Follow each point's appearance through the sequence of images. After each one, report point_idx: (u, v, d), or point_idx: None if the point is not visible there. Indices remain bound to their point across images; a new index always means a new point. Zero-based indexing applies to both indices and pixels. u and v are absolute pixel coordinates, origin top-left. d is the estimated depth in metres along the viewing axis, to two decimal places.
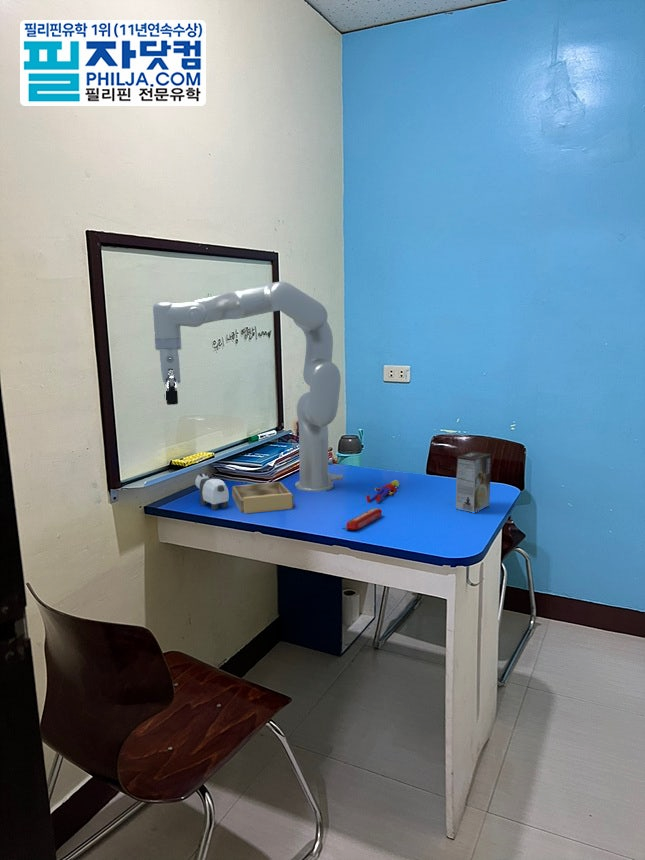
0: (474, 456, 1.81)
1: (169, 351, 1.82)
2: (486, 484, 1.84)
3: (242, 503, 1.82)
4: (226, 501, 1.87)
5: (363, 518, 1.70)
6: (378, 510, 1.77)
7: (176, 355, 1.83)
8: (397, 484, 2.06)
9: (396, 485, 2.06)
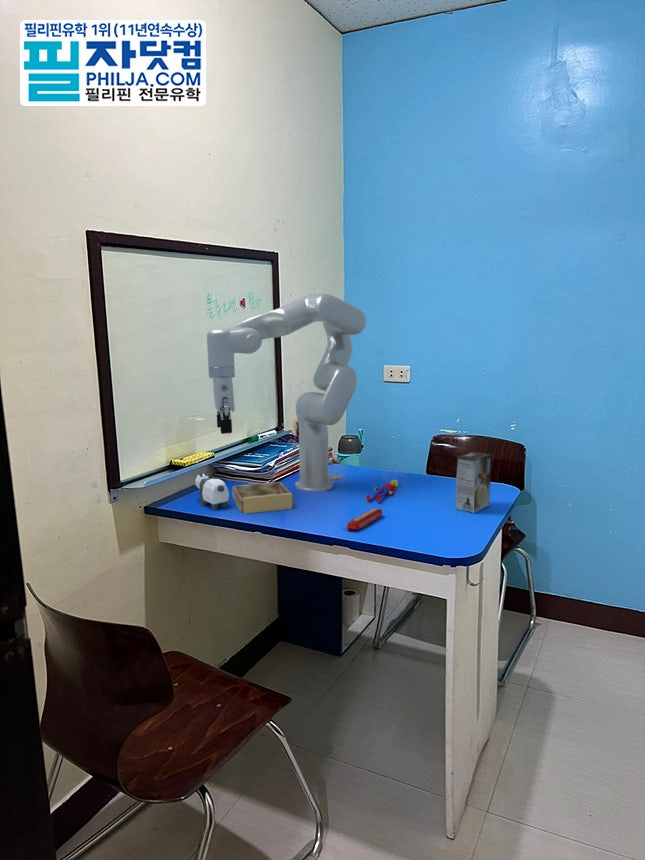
0: (474, 456, 1.81)
1: (223, 379, 1.79)
2: (486, 484, 1.84)
3: (242, 503, 1.82)
4: (226, 501, 1.87)
5: (364, 518, 1.70)
6: (378, 510, 1.77)
7: (230, 383, 1.80)
8: (396, 484, 2.06)
9: (395, 485, 2.06)
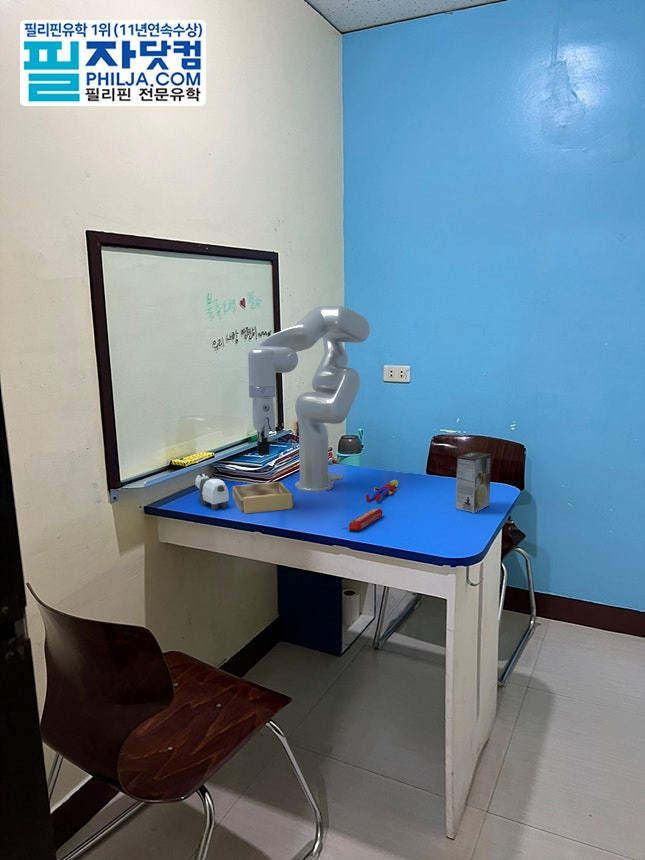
0: (474, 456, 1.81)
1: (265, 400, 1.77)
2: (486, 484, 1.84)
3: (242, 503, 1.82)
4: (226, 501, 1.87)
5: (365, 518, 1.70)
6: (379, 510, 1.77)
7: (272, 404, 1.78)
8: (396, 484, 2.06)
9: (395, 485, 2.06)
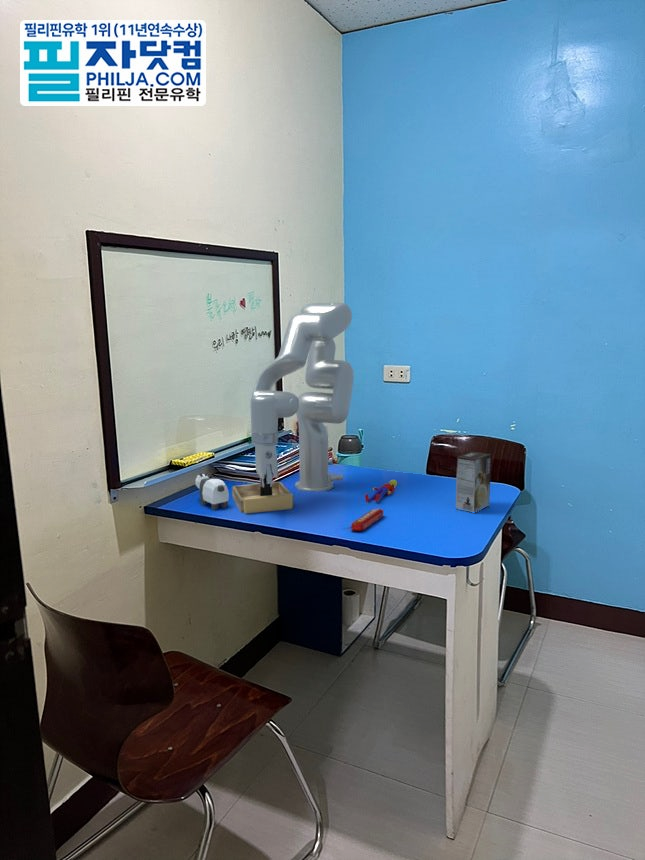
0: (474, 456, 1.81)
1: (268, 447, 1.77)
2: (487, 484, 1.84)
3: (242, 503, 1.82)
4: (226, 501, 1.87)
5: (367, 519, 1.70)
6: (380, 510, 1.77)
7: (274, 450, 1.77)
8: (395, 484, 2.07)
9: (394, 485, 2.06)
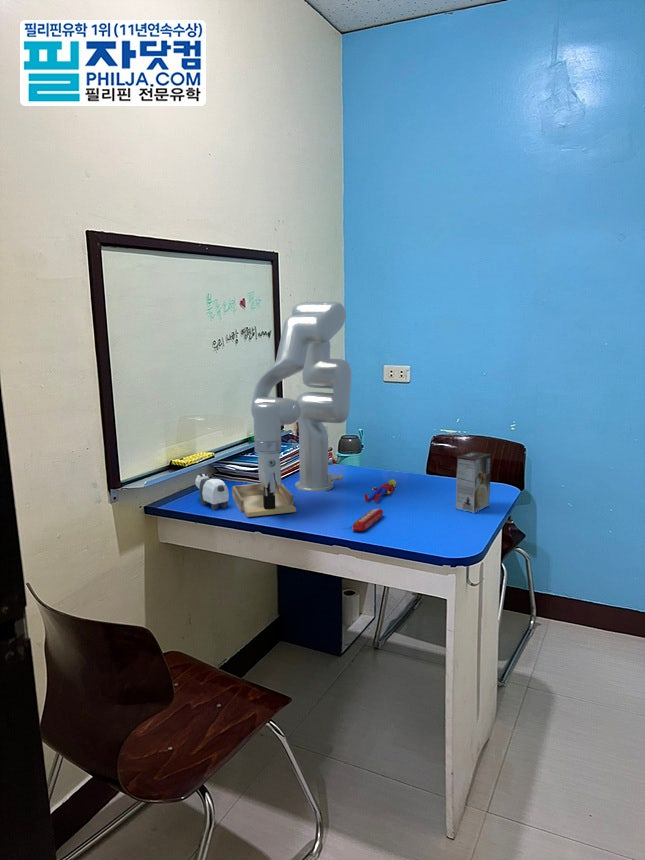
0: (474, 456, 1.81)
1: (271, 455, 1.74)
2: (486, 484, 1.84)
3: (242, 503, 1.82)
4: (226, 501, 1.87)
5: (368, 519, 1.70)
6: (380, 510, 1.77)
7: (278, 458, 1.74)
8: (394, 483, 2.07)
9: (393, 484, 2.06)
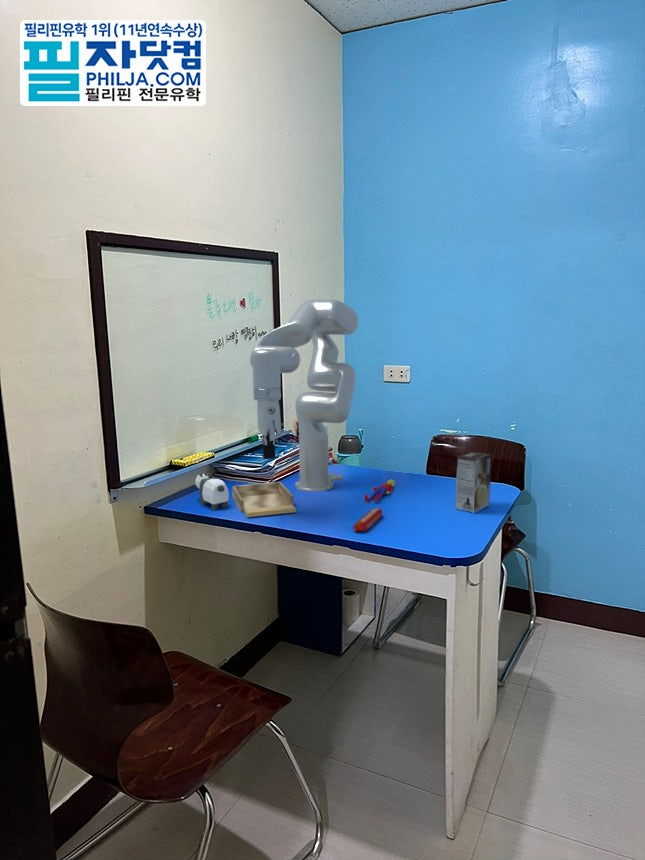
0: (474, 456, 1.81)
1: (270, 402, 1.71)
2: (487, 484, 1.84)
3: (242, 503, 1.82)
4: (226, 501, 1.87)
5: (369, 519, 1.70)
6: (379, 510, 1.77)
7: (277, 406, 1.72)
8: (393, 483, 2.07)
9: (392, 484, 2.06)
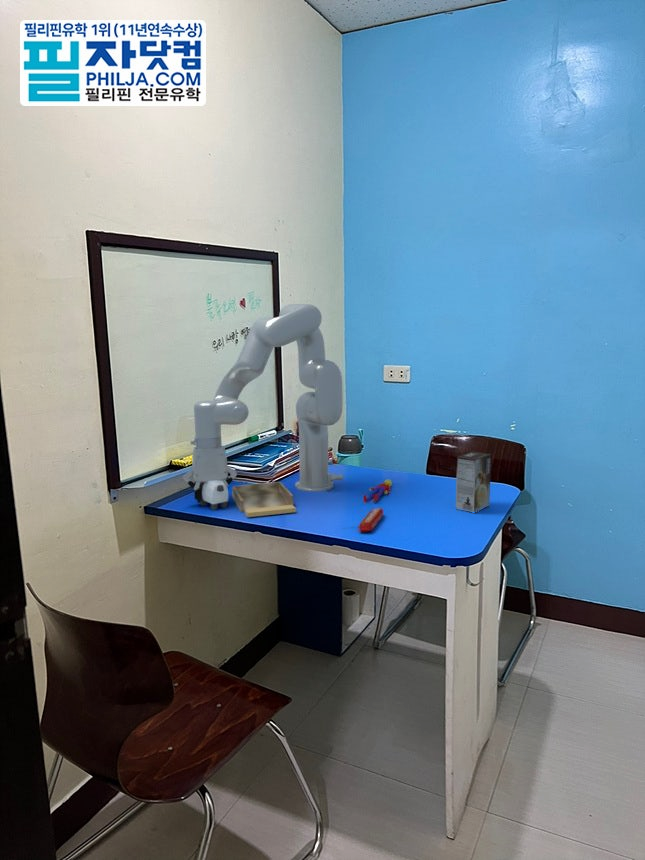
0: (474, 456, 1.81)
1: None
2: (487, 484, 1.84)
3: (242, 503, 1.82)
4: (226, 501, 1.86)
5: (373, 519, 1.70)
6: (381, 510, 1.77)
7: (194, 454, 1.84)
8: (390, 483, 2.07)
9: (389, 484, 2.07)
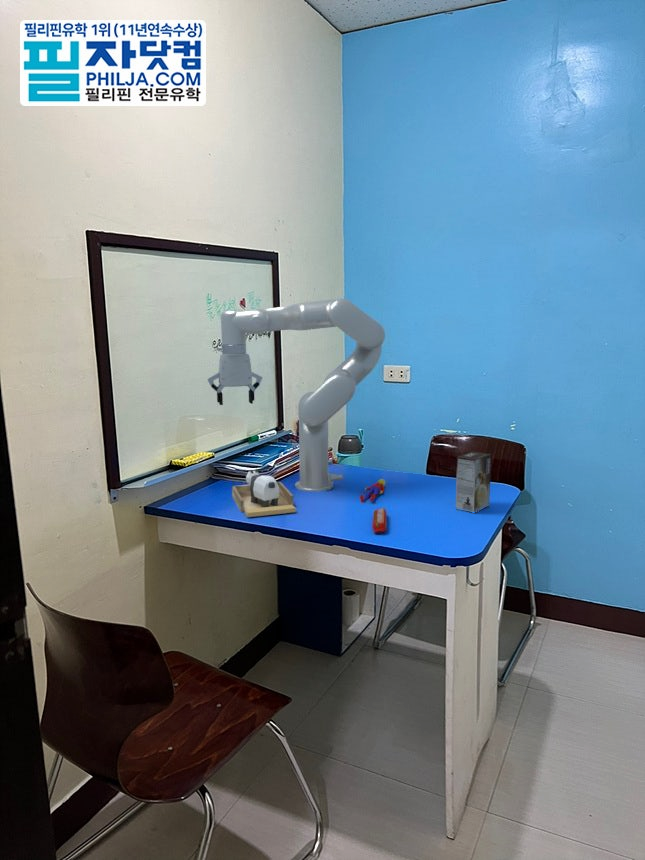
0: (474, 456, 1.81)
1: (220, 355, 1.98)
2: (486, 484, 1.84)
3: (242, 503, 1.82)
4: (277, 497, 1.87)
5: (384, 519, 1.69)
6: None
7: (221, 360, 1.96)
8: (384, 483, 2.08)
9: (383, 484, 2.07)
